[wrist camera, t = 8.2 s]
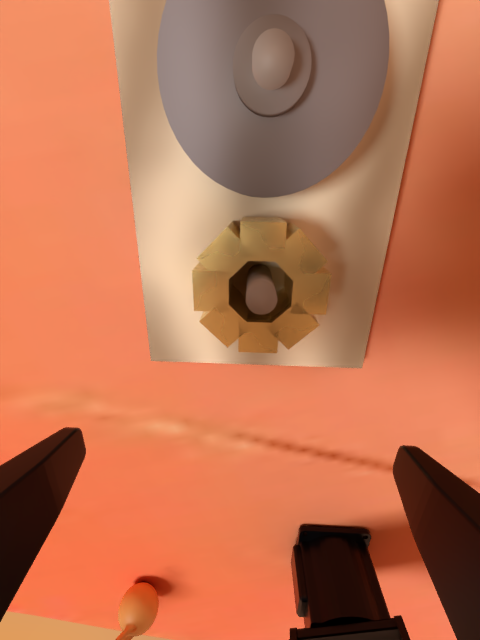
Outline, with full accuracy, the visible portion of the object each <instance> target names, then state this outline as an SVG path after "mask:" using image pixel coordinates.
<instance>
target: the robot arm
mask: <svg viewBox="0 0 480 640" xmlns="http://www.w3.org/2000/svg"><path fill="white" fill-rule="evenodd" d="M85 454H86V448H85V444H84V439H83V435H82V431H81V429H80V428H72V427H66V428H63V429H61V430H59V431H58V432H56V433H54V434H53V435H51V436H49V437H48V438H46V439H44V440H43V441H41V442H39V443H38V444H36V445H34V446H33V447H31V448H29V449H27V450H26V451H24V452H22V453H21V454H19V455H17V456H16V457H14V458H12V459H11V460H9V461H7V462H6V463H4V464H2V465H1V466H0V622H1V620H2V618H3V616H4V614H5V612H6V611H7V609H8V607H9V605H10V603H11V602H12V600H13V598H14V596H15V594H16V593H17V591H18V589H19V587H20V585H21V584H22V582H23V580H24V578H25V576H26V574H27V573H28V571H29V569H30V567H31V565H32V564H33V562H34V560H35V558H36V556H37V555H38V553H39V551H40V549H41V547H42V545H43V544H44V542H45V540H46V538H47V536H48V535H49V533H50V531H51V529H52V527H53V526H54V524H55V522H56V520H57V518H58V516H59V514H60V512H61V510H62V508H63V506H64V504H65V501H66V499H67V497H68V494H69V492H70V490H71V488H72V485H73V483H74V481H75V479H76V476H77V474H78V472H79V469H80V467H81V465H82V463H83V460H84V458H85ZM393 475H394V479H395V482H396V485H397V488H398V491H399V494H400V497H401V500H402V503H403V507H404V510H405V513H406V516H407V519H408V522H409V525H410V528H411V531H412V534H413V537H414V539H415V542H416V544H417V547H418V549H419V551H420V554H421V556H422V558H423V561H424V563H425V565H426V568H427V570H428V572H429V575H430V577H431V579H432V582H433V584H434V586H435V589H436V591H437V594H438V596H439V598H440V601H441V603H442V605H443V608H444V610H445V612H446V615H447V617H448V619H449V622H450V624H451V626H452V629H453V631H454V633H455V636H456V638H457V640H480V493H478V492H477V491H476V490H474V489H473V488H472V487H470V486H469V485H468V484H466V483H465V482H464V481H462V480H461V479H460V478H458V477H457V476H456V475H454V474H453V473H452V472H450V471H449V470H448V469H446V468H445V467H444V466H442V465H441V464H440V463H438V462H437V461H436V460H434V459H433V458H432V457H430V456H429V455H428V454H426V453H425V452H424V451H422V450H421V449H420V448H418V447H416V446H405V445H403V446H400V447H399V449H398V452H397V455H396V458H395V462H394V465H393ZM370 539H371V535H370V532H369V531H368V530H367V529H352V528H332V527H312V526H302V527H300V528H299V532H298V539H297V544H295V545H294V547H293V551H292V558H291V566H292V576H293V585H294V594H295V604H296V613H297V615H298V616H299V617H304V624H305V628H303V629H297V628H290V639H289V640H410V638H409V635H408V632H407V630H406V627H405V624H404V622H403V619H402V616H401V615H400V616H394V618H390V615H389V612H388V609H387V606H386V603H385V600H384V597H383V594H382V591H381V588H380V584H379V581H378V578H377V575H376V572H375V569H374V566H373V563H372V560H371V557H370V554H369V551H368V546H369V542H370Z"/></svg>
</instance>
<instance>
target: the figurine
mask: <svg viewBox="0 0 480 640" xmlns="http://www.w3.org/2000/svg"><path fill="white" fill-rule="evenodd" d="M158 606H159V600H158V595H157V592H156V590H155V588H154V587H153V586H152V585H150V584H148V583H145V582H141V583H137V584H135V585H133V586H132V587H131V588H130V589H129V590H128V591H127V592H126V593H125V595H124V596H123V598H122V600H121V603H120V606H119V611H118V621H119V625H120V627H121V629H122V631H123V632H122V633H121V634H120V635H119V636H118V637H117V639H116V640H131V639H132V638H133V637H134V636H139V635H141V634H143V633H145V632H146V631H147V630H148V629H149V628H150V627H151V625H152V624H153V622H154V620H155V618H156V616H157V612H158Z"/></svg>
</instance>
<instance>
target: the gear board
mask: <svg viewBox="0 0 480 640" xmlns="http://www.w3.org/2000/svg"><path fill="white" fill-rule="evenodd" d="M438 2H439V0H109V5H110V13H111V22H112V31H113V39H114V48H115V56H116V65H117V73H118V82H119V91H120V99H121V108H122V116H123V125H124V133H125V142H126V150H127V159H128V168H129V176H130V185H131V193H132V202H133V210H134V219H135V227H136V236H137V245H138V253H139V262H140V270H141V279H142V287H143V296H144V305H145V313H146V322H147V330H148V339H149V347H150V356H151V361H170V362H198V363H227V364H256V365H284V366H313V367H341V368H362V366H363V361H364V356H365V352H366V347H367V342H368V337H369V333H370V328H371V323H372V318H373V313H374V309H375V304H376V299H377V294H378V289H379V285H380V280H381V275H382V270H383V266H384V261H385V256H386V251H387V246H388V242H389V237H390V232H391V227H392V222H393V218H394V213H395V208H396V203H397V199H398V194H399V189H400V184H401V179H402V175H403V170H404V165H405V160H406V155H407V151H408V146H409V141H410V136H411V132H412V127H413V122H414V117H415V112H416V108H417V103H418V98H419V93H420V89H421V84H422V79H423V74H424V69H425V65H426V60H427V55H428V50H429V45H430V41H431V36H432V31H433V26H434V22H435V17H436V12H437V7H438ZM242 217H277V218H281V219H283V220H284V221H286V222H287V224H288V223H292V224H294V225H295V226H297V227H298V228H300V229H301V230H302V232H303V233H304V234H305V235H306V236H307V237H308V239H309V240H310V241H311V242H312V243H313V245H314V246H315V247H316V248H317V249H318V250H319V252H320V253H321V254H322V255H323V256H324V257H325V259H326V260H327V261H328V262H327V263H326V264H325V265H324V267H325V268H326V269H327V270H328V271H329V272H330V273H331V274H332V275H331V282H330V289H329V296H328V304H327V311H326V315H314V316H315V317H316V319H317V321H318V323H319V326H318V327H317V328H316V329H314V330H313V331H312V332H310V333H309V334H308V335H307V336H305V337H304V338H303V339H302V340H300V341H299V342H298V343H296V344H295V345H294V346H293V347H291V348H290V349H289V350H288V349H287V348H286V347H285V346H284V345H283V344H282V343H281V342H280V341H279V340H278V349H277V353H250V352H238V339H237V340H236V341H235V342H234V343H233V344H231V345H230V346H229V347H228V348H227V347H226V346H225V345H224V344H223V343H222V342H221V341H220V340H219V339H217V338H216V337H215V336H214V335H213V334H212V333H211V332H210V331H209V330H208V329H207V328H205V327H204V326H203V325H202V324H201V323H200V322H199V321H200V318H201V316H202V314H203V311H194V302H193V281H192V270H193V269H194V268H195V266H196V265H197V264H198V263H199V261H198V260H197V257H198V256H199V255H200V254H201V253H202V252H203V251H204V250H205V249H206V248H207V247H208V246H209V245H210V244H211V243H212V242H213V241H214V240H215V239H216V238H217V237H218V236H219V235H220V233H221V232H222V231H223V230H224V229H225V228H226V227H227V226H228V225H229V224H230V223H231V222H232V221H233V222H234V223H235V224H236V225H237V226H238V228H239V229H240V221H241V219H242ZM284 277H285V271H284V270H283V269H282V268H281V267H280V266H279V265H278V264H277V263H276V262H266V261H248V262H247V263H246V264H244V265H243V266H242V267H241V268H240V269H239V270H238V271H237V272H236V273H235V274H234V275H233V285H234V286H235V287H236V288H237V289H238V290H239V291H240V292H241V293H242V294H243V295H244V296H245V297H246V304H247V307H248V308H249V309H250V310H251V311H252V312H253V313H255V314H260V315H263V314H267V313H269V312H271V311H272V310H273V309H274V308H275V307H276V304H277V294H276V293H277V292H278V291H279V290H280V289H281V288H282V287H284Z"/></svg>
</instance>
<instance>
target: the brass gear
mask: <svg viewBox="0 0 480 640" xmlns="http://www.w3.org/2000/svg"><path fill="white" fill-rule="evenodd" d="M197 260H198V261H199V263H198V264H197V265H196V266H195V268H194V269H193V270H192V281H193V302H194V311H203V314H202V316H201V318H200V321H199V322H200V323H201V324H202V325H203V326H204V327H205V328H207V329H208V330H209V331H210V332H211V333H212V334H213V335H214V336H215V337H216V338H217V339H219V340H220V341H221V342H222V343H223V344H224V345H225V346H226V347H227V348H228V347H229V346H230V345H231V344H233V343H234V342H235V341H236V340H237V339H238V352H250V353H277V349H278V340H279V341H280V342H281V343H282V344H283V345H284V346H285V347H286V348H287V349H288V350H289V349H290V348H291V347H293V346H294V345H295V344H296V343H298V342H299V341H300V340H302V339H303V338H304V337H305V336H307V335H308V334H309V333H310V332H312V331H313V330H314V329H316V328H317V327H318V326H319V323H318V321H317V319H316V317H315V316H314V315H326V311H327V304H328V296H329V289H330V282H331V275H332V274H331V273H330V272H329V271H328V270H327V269H326V268H325V267H324V265H325V264H326V263H327V262H328V261H327V260H326V259H325V257H324V256H323V255H322V254H321V253H320V252H319V250H318V249H317V248H316V247H315V246H314V245H313V243H312V242H311V241H310V240H309V239H308V237H307V236H306V235H305V234H304V233H303V232H302V230H301V229H300V228H298V227H297V226H295V225H294V224H292V223H288V224H287V222H286V221H284V220H283V219H281V218H277V217H242V219H241V221H240V229H239V228H238V226H237V225H236V224H235V223H234V222H233V221H232V222H231V223H230V224H229V225H228V226H227V227H226V228H225V229H224V230H223V231H222V232H221V233H220V235H219V236H218V237H217V238H216V239H215V240H214V241H213V242H212V243H211V244H210V245H209V246H208V247H207V248H206V249H205V250H204V251H203V252H202V253H201V254H200V255H199V256H198V257H197ZM248 261H266V262H276V263H277V264H278V265H279V266H280V267H281V268H282V269H283V270H284V271H285V277H284V287H282V288H281V289H280V290H279V291H278V292H277V293H276V294H277V304H276V307H275V308H274V309H273V310H272V311H271V312H269V313H267V314H263V315H260V314H255V313H253V312H252V311H251V310H250V309H249V308H248V307H247V304H246V297H245V296H244V295H243V294H242V293H241V292H240V291H239V290H238V289H237V288H236V287H235V286H234V285H233V275H234V274H235V273H236V272H237V271H238V270H239V269H240V268H241V267H242V266H243V265H244V264H246V263H247V262H248Z"/></svg>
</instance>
